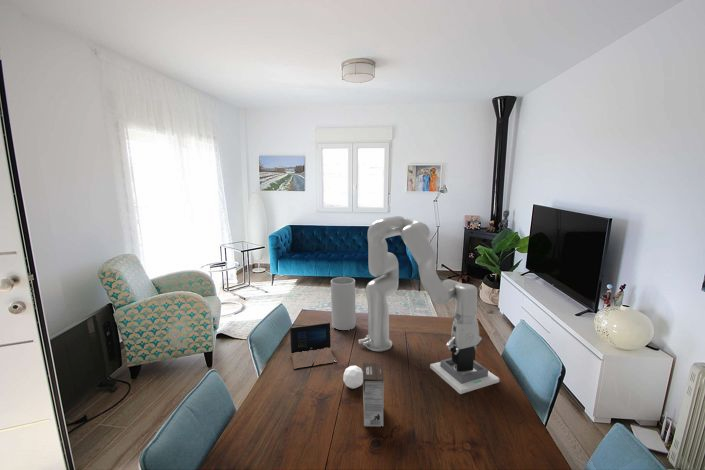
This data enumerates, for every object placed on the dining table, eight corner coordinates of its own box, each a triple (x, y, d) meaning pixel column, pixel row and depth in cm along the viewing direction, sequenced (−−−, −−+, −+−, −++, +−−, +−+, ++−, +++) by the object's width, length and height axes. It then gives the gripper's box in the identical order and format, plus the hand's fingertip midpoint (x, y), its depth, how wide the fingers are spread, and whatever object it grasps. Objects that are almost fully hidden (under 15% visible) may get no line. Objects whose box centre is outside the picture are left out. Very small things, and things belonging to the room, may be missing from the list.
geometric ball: (349, 395, 118) (335, 380, 116) (355, 376, 124) (343, 362, 123) (364, 391, 114) (350, 377, 112) (370, 372, 120) (357, 358, 118)
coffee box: (363, 406, 108) (362, 362, 105) (382, 406, 108) (382, 362, 105) (363, 426, 99) (362, 378, 96) (384, 427, 99) (384, 379, 96)
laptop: (293, 371, 129) (292, 340, 127) (290, 355, 141) (289, 327, 139) (337, 363, 134) (336, 334, 132) (330, 349, 146) (330, 322, 144)
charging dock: (460, 394, 113) (460, 383, 113) (430, 367, 130) (430, 358, 129) (499, 382, 120) (499, 372, 119) (465, 358, 136) (466, 349, 136)
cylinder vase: (360, 325, 169) (360, 280, 165) (344, 334, 160) (342, 286, 156) (343, 319, 178) (342, 275, 174) (327, 326, 169) (325, 281, 165)
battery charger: (468, 365, 127) (470, 338, 125) (474, 370, 123) (475, 343, 121) (452, 367, 126) (453, 339, 124) (457, 372, 122) (458, 344, 120)
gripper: (453, 324, 115) (451, 370, 117) (490, 316, 121) (488, 360, 124) (440, 316, 121) (438, 360, 124) (476, 309, 128) (474, 351, 131)
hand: (463, 359), depth 124 cm, fingers closed on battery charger, 7 cm apart
